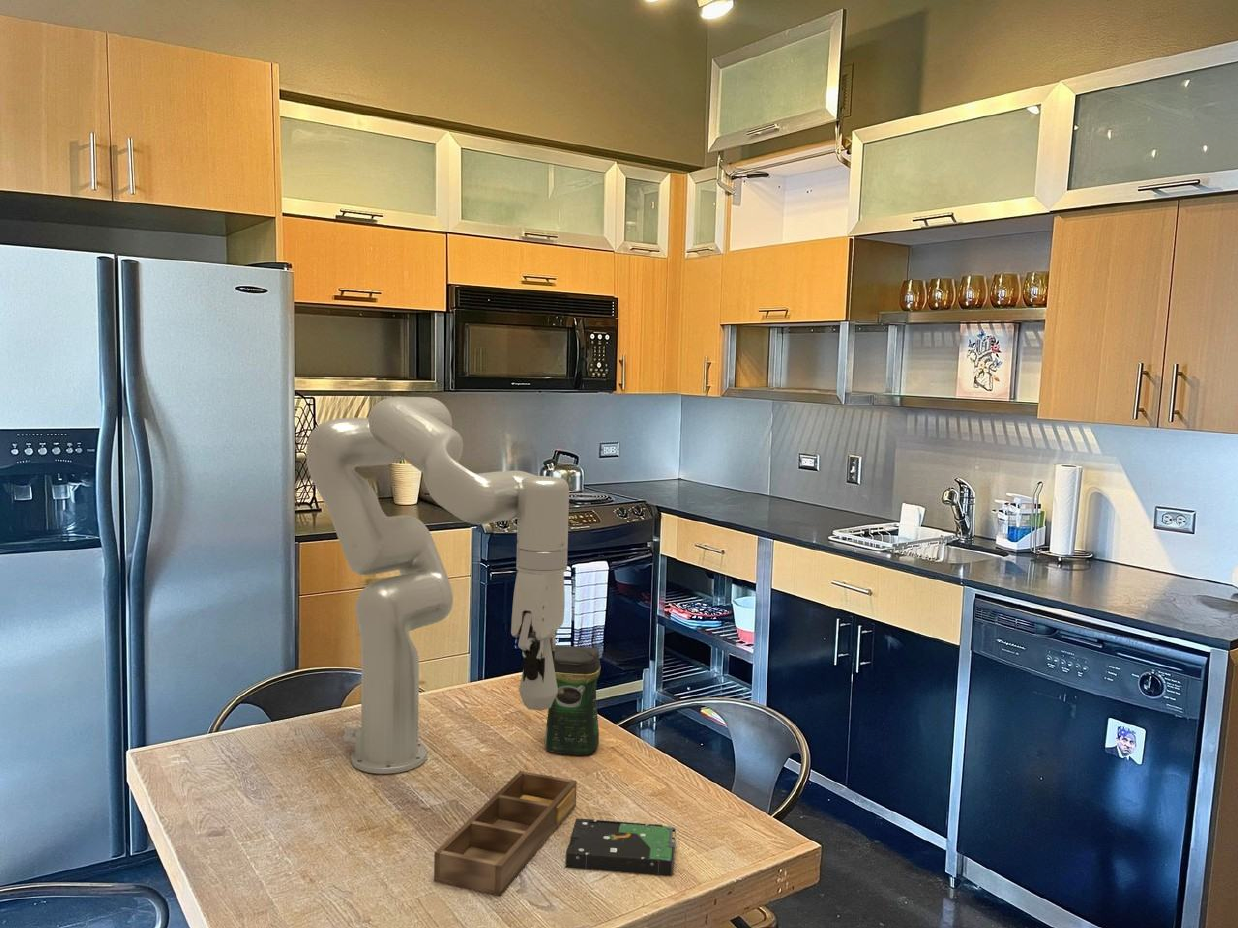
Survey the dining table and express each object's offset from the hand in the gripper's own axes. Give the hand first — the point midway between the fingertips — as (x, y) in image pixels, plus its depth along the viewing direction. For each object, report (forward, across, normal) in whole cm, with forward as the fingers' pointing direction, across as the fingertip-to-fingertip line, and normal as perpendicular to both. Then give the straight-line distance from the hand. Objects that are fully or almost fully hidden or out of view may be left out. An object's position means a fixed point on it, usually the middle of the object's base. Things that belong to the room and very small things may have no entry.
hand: (538, 678), depth 139 cm
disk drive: (+22, +6, +16) cm, 28 cm away
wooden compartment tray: (+21, +9, 0) cm, 23 cm away
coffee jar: (+21, -26, -4) cm, 34 cm away
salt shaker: (+4, 0, 0) cm, 4 cm away
